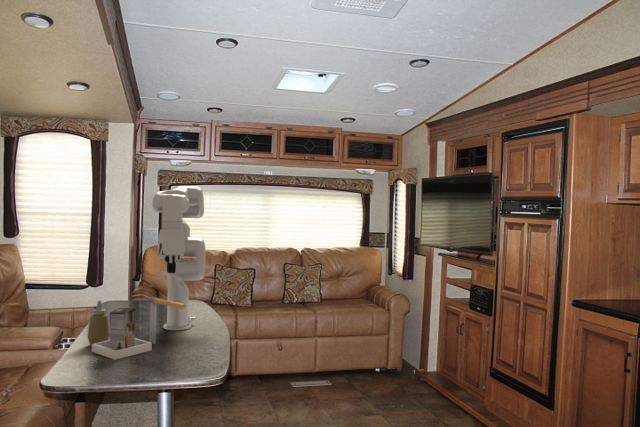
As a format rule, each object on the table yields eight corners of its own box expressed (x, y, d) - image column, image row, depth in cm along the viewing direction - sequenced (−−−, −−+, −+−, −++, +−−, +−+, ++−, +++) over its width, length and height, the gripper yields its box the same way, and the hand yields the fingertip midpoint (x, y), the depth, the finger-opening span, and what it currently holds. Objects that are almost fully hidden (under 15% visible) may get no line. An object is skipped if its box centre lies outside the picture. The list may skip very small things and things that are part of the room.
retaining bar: (147, 301, 202) (147, 298, 202) (154, 300, 205) (154, 297, 205) (180, 308, 190) (180, 304, 190) (186, 307, 193) (187, 303, 193)
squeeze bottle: (85, 348, 193) (86, 302, 193) (89, 343, 201) (90, 299, 201) (107, 347, 195) (108, 302, 195) (110, 342, 203) (111, 298, 203)
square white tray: (143, 339, 208) (144, 300, 208) (167, 346, 199) (168, 304, 199) (91, 351, 189) (92, 308, 189) (115, 359, 180) (116, 314, 180)
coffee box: (118, 347, 196) (119, 307, 196) (134, 348, 196) (135, 307, 196) (108, 354, 187) (109, 312, 186) (125, 354, 186) (126, 312, 186)
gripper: (182, 225, 201) (180, 270, 201) (149, 225, 189) (148, 273, 189) (193, 226, 196) (192, 272, 196) (161, 226, 184) (160, 275, 184)
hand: (171, 272), depth 193 cm, fingers closed
